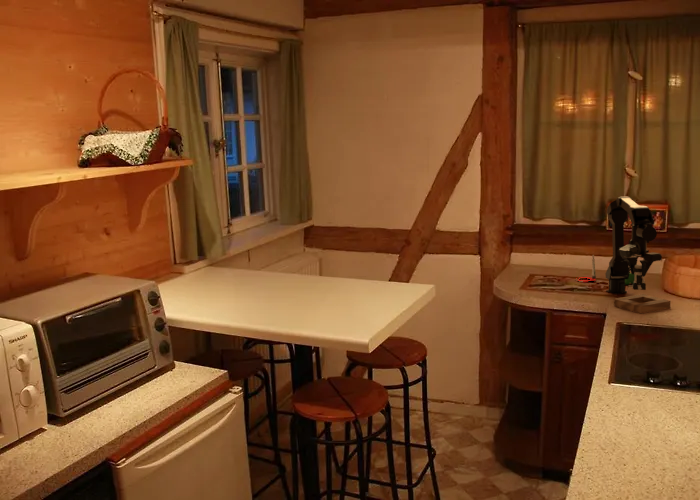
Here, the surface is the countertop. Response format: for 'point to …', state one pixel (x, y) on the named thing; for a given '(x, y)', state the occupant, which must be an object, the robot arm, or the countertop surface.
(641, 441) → the countertop surface
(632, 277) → the clamp
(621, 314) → the countertop surface
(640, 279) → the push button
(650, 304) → the holder block
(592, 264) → the red grey looped piece
